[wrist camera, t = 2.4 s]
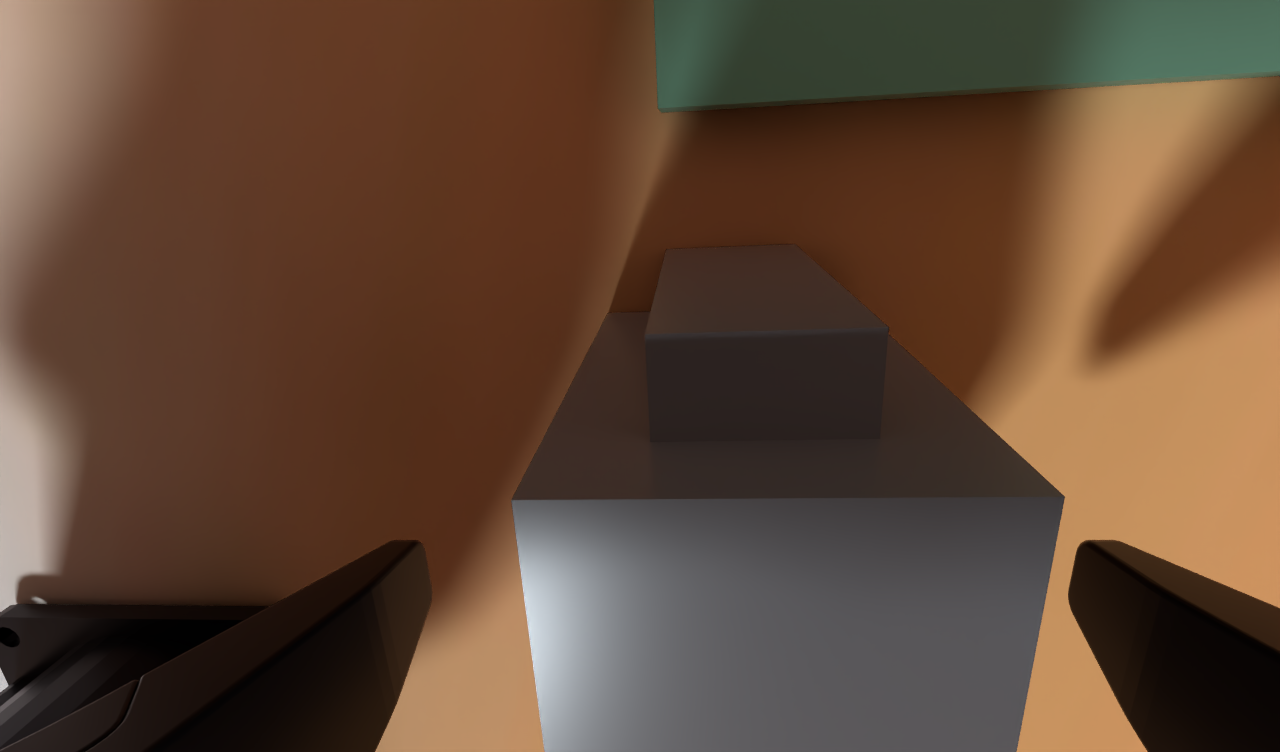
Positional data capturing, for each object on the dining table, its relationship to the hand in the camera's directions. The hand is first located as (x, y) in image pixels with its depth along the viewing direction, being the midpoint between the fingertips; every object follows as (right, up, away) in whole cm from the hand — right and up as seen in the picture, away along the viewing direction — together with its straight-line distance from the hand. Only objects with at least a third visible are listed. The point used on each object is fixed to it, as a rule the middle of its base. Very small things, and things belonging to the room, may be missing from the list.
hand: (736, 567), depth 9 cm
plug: (0, +1, +2) cm, 3 cm away
